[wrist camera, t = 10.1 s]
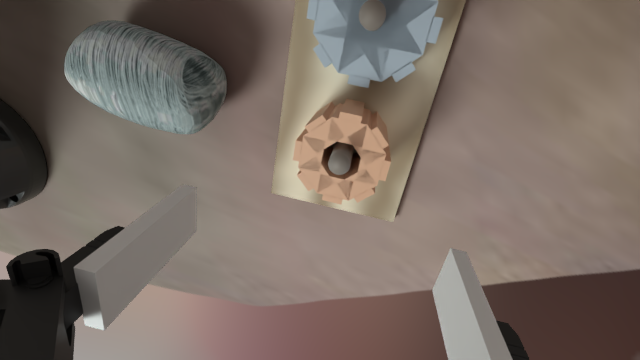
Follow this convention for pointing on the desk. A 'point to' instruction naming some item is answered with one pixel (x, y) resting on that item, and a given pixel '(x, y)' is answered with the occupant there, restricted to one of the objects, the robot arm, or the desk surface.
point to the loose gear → (349, 128)
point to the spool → (146, 77)
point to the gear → (373, 38)
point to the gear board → (383, 97)
